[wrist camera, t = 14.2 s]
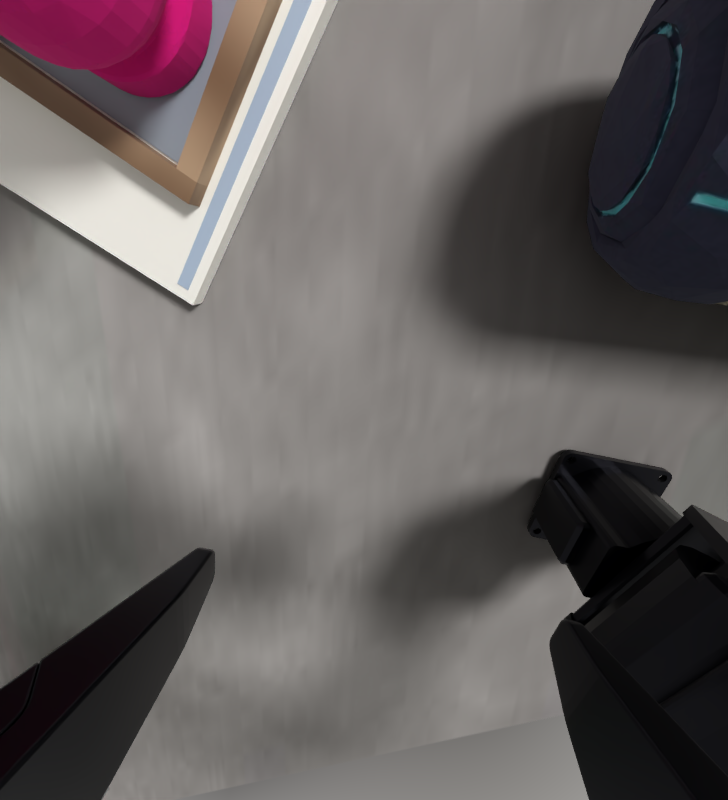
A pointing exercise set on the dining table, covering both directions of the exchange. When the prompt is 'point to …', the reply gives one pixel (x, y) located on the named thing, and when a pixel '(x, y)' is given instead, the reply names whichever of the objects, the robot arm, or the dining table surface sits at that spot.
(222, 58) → the walnut socket
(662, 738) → the robot arm
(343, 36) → the dining table surface
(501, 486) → the dining table surface
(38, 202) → the picture frame
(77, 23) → the pepper mill
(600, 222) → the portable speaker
